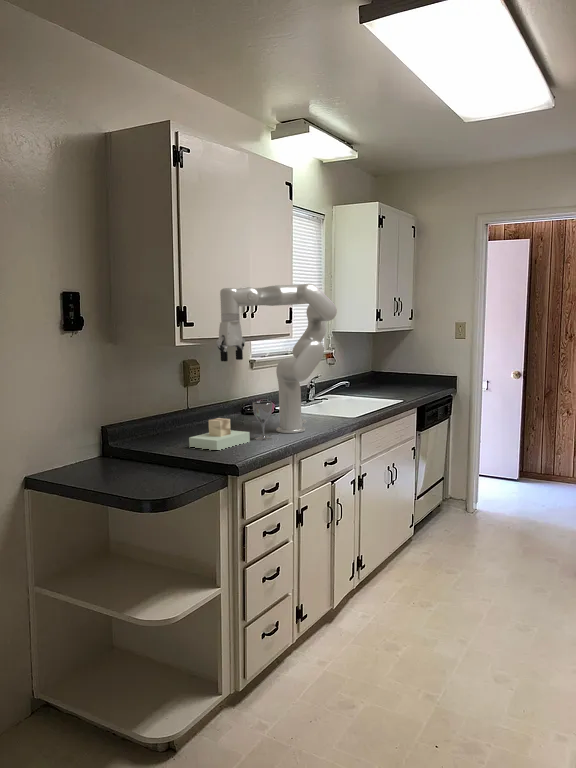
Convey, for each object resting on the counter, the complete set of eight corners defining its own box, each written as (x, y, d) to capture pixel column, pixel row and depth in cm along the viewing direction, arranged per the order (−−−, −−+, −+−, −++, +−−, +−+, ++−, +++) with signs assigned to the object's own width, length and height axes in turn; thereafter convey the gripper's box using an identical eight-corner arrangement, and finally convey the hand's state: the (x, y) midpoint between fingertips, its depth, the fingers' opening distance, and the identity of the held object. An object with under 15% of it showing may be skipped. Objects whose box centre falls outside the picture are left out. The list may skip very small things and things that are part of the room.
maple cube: (219, 432, 250) (218, 418, 249) (230, 434, 246) (230, 419, 246) (209, 435, 245) (208, 420, 244) (220, 436, 241) (220, 421, 241)
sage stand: (222, 438, 258) (222, 429, 258) (249, 441, 250) (249, 432, 250) (189, 447, 242) (189, 437, 241) (217, 451, 234) (216, 440, 233)
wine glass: (249, 439, 256) (248, 402, 255) (264, 436, 262) (263, 400, 260) (262, 441, 251) (261, 404, 249) (277, 438, 256) (276, 402, 255)
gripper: (236, 318, 264) (237, 359, 266) (209, 319, 250) (211, 361, 251) (250, 318, 260) (252, 359, 261) (223, 318, 245) (225, 362, 247)
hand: (231, 360), depth 256 cm, fingers open, 9 cm apart
